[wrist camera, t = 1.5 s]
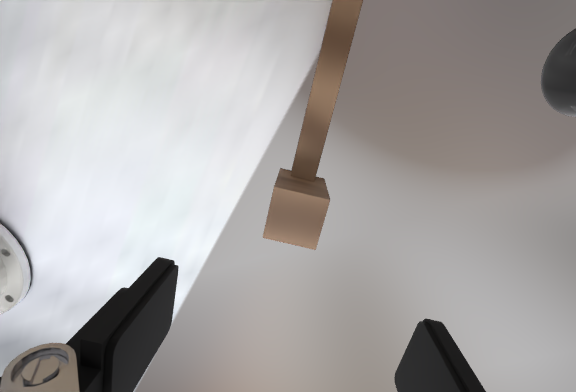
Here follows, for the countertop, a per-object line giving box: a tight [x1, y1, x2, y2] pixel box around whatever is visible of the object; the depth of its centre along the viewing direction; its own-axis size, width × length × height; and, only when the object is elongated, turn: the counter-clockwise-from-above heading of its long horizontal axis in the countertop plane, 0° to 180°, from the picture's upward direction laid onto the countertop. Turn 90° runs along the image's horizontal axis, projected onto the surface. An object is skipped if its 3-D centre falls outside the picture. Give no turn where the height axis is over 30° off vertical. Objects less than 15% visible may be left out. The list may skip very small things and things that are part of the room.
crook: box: [263, 0, 363, 250], centre depth 20 cm, size 26×9×6 cm, turn 167°
